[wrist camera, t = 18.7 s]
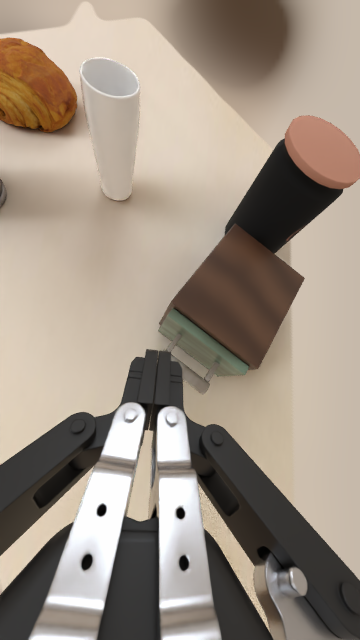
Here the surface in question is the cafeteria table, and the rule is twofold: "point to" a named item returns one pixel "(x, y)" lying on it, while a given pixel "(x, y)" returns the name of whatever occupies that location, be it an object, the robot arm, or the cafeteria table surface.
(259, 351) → the cabinet
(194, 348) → the drawer
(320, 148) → the coffee jar
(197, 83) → the cafeteria table surface
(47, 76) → the croissant
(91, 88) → the white cup
